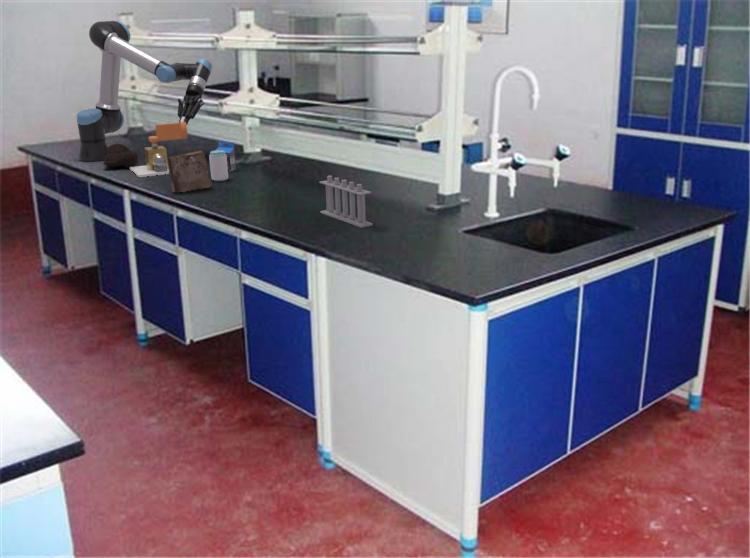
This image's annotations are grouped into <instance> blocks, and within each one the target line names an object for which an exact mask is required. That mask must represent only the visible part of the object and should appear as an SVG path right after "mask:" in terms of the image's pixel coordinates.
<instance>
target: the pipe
mask: <svg viewBox="0 0 750 558" xmlns="http://www.w3.org/2000/svg"><path fill="white" fill-rule="evenodd" d="M102 164H103V165H105V166H106V167H108V168H117V167H120V166H121V167H122V166H123V167H135V166H138V164H139V159H138V154H137V152H136V151H135V150H130V149H129V147H127V145H124V144H122V143H115V144H111V145H108V148H107V149H106V158H105V160H103V163H102Z"/></svg>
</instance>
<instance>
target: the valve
mask: <svg viewBox="0 0 750 558" xmlns="http://www.w3.org/2000/svg"><path fill="white" fill-rule="evenodd" d="M143 149H144V158H145V165H146V167H147V168H148V169H149V170H150V171H151V170H155V172H161V171H168V170H167V169H168V163H167V157H168V154H167V148H166V147H164V146H163V145H158V142H151V146H147V147H144V148H143Z"/></svg>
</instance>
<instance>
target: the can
mask: <svg viewBox="0 0 750 558" xmlns="http://www.w3.org/2000/svg"><path fill="white" fill-rule="evenodd" d="M208 158H209V168H210V170H209V171H210V178H211V179H210V180H212V181H213V180H214V181H213V182H225V181H227V180H228V179H229V171H228V167H227V156H226V154H225V152H224V151H223V150H216V149H215V150H211V151H210V152H209V155H208Z"/></svg>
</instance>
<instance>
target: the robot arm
mask: <svg viewBox="0 0 750 558" xmlns="http://www.w3.org/2000/svg"><path fill="white" fill-rule="evenodd" d="M88 35H89V40H90V41H91V42H92V43H93V45H94V46H96V47H97V48H98V49H99V50H100V51H101V53H102V54H101V55H102V56H101V65H100V66H101V69H100V84H99V85H100V86H99V101H97V102H96V103H95V108H87V109H82V110H80V111H78V112H77V114H76V123H77V128H78V135H79V140H80V147H79V153H78V159H79V161H81V162H98V161H99V162H100V161H104V160H105V158H106V149H107V148H108V147H109V145H108V144H107V139H106V135H108V134H112V133H115V132H117V131H120V129H121V128H122V127H123V125H124V122H125V117H124V114H123V112H122V111H121V106H120V105H119V104H118V103H119V101H118V100H119V89H120V88H119V86H120V75H121V74H120V72H121V63H122V62H121V60H122V59H123V60H126V61H128V62H129V63H131V64H133V65H134V66H137V67H139V68H140V69H142V70H144V71H146V72H148V73H150V74H152V75H154V76H155V77H156V78H157V80H158V81H160V82H161V83H164V84H166V83H167V84H168V83H169V84H170V83H173V82H178V81H183V80H185V81H186V80H187V81H188V84H187V88H186V90H185V94H184V96H183V98H178V99H177V102H178V104H177V105H178V106H177V107H178V108H177V116H178V118H179V120H178V123H180V122H186V126H187V125H188V124H189V121H190V120H194V118H195V117H196V115H197V114H198V112H199V110H200V109H201V107H203V105H204V104H205V102H204V100H203V99H202V97H203V94H204V91H205V89H206V86H207V82H208V80H209V78H210V76H211V73H212V68H213V65H212V63H211V62H210V60H208V59H206V58H199V59H197V61H196V63H187V62H186V63H184V62H172V63H170V64H169V63H168V62H165V61H163V60H162V59H160V58H158V57H157V56H154V55H152V54H151V53H149V52H146V51H145V50H143V49H142V48H140V47H138V46H136V45H134V44H132V43H130V40H131V33H130V30H129V28H128V27H127V25H125V23H123V22H121V21H118V20H107V21H106V20H104V21H103V20H102V21H96V22H94V23H93V24H92V25H91V26H90V28H89V33H88ZM121 58H122V59H121Z"/></svg>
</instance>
